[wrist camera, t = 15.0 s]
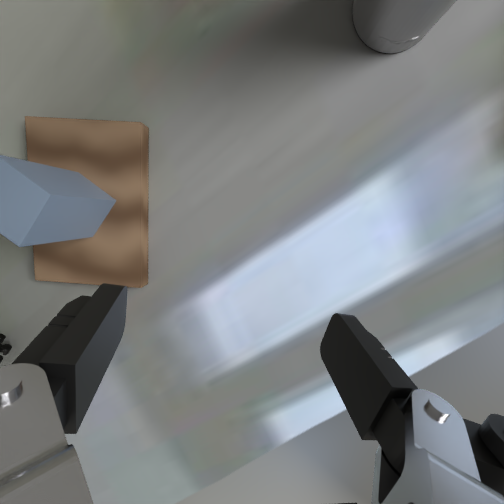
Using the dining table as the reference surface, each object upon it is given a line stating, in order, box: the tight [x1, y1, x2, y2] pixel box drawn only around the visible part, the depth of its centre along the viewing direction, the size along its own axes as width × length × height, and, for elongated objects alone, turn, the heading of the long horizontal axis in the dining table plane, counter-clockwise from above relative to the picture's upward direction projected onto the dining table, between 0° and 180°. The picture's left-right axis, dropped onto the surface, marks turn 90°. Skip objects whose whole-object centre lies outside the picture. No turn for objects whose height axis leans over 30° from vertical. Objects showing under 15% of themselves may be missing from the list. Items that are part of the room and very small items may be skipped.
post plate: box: [25, 116, 149, 288], centre depth 31 cm, size 20×14×6 cm
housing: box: [0, 155, 116, 247], centre depth 27 cm, size 6×6×10 cm
